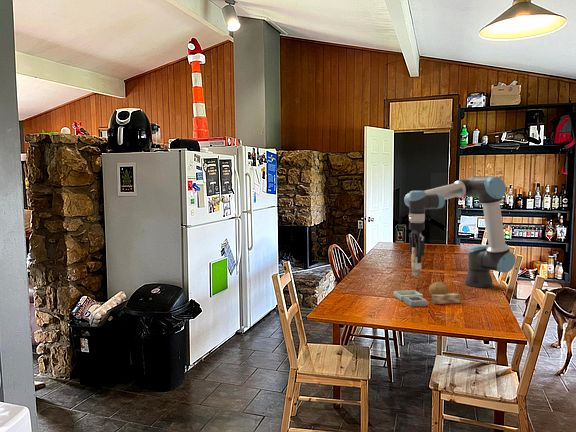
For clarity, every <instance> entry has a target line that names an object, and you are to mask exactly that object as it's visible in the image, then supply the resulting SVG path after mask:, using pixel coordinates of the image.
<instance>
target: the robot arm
mask: <svg viewBox="0 0 576 432" xmlns="http://www.w3.org/2000/svg"><path fill="white" fill-rule="evenodd" d="M506 191H507V187H506V183H505V181H504V180H503V179H502V178H501V177H499V176H493V175H484V176H482V175H481V176H478V175H475V176H473V175H472V176H470V177H466V178H462V179H459V180H456V181H454V182H453V183H451V184H446V185H442V186H438V187H435V188H434V187H433V188H430V189H426V190H411V191H409V192H407V194H405V196H404V198H403V201H404V204H405V206H406V207H408V209H409V210H408V216H407V217H408V221H409V223H408V230H409V231H411V232H409V233H408V239H409V240H408V241H409V243H408V244H409V245H408V247H409V248H408V249H409V253H410V255H412V247H416V256H415V257H416V267H415V269H416V270H417V269H420V270H422V257H423V256H425V241H426V240H425V239H426V236H425V235H423V233H422V231H424V230H425V227H426V226H425V224H426V223H425V220H426V210H438V209H442V208H443V207H444V206H445V203H446V200H448V199H453V198H459V199H460V198H467V197H468V198H469V197H470V198H478V203H479V204H480V205H481V206H482V210H483V217H484V223H485V230H486V237H487V243H488V245H486V244H483V245H481V244H480V245H471V246H470V247H469V249H468V252H467V253H468V258H467V259H468V262H467V263H468V264H467V266H468V269H467V273H466V275H465V279H464V284H465V285H466V286H469V287H474V288H491V287H493V284H494V282H493V281H494V280H493V277H492V276H491V271H495V272H498V273H505V274H506V273H509V272H511V271H512V270H513V268H514V267H515V265H516V262H517V261H516V260H517V257H516V255H515V254H514V253H513V252H511V250H510V246H509V245H508V244H506V238H505V231H504V223H503V217H502V210H501V209H502V208H501V202H502V201H503V197H504V196H505V195H506ZM410 260H411V261H410V262H411V267H410V268H412V259H410Z"/></svg>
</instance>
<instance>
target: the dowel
mask: <svg viewBox="0 0 576 432" xmlns="http://www.w3.org/2000/svg"><path fill="white" fill-rule="evenodd" d="M415 256H416V247H412V254H411V260H412V267H411V276H412V277H421V269H417V270H416V269H415V267H416V257H415Z"/></svg>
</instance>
